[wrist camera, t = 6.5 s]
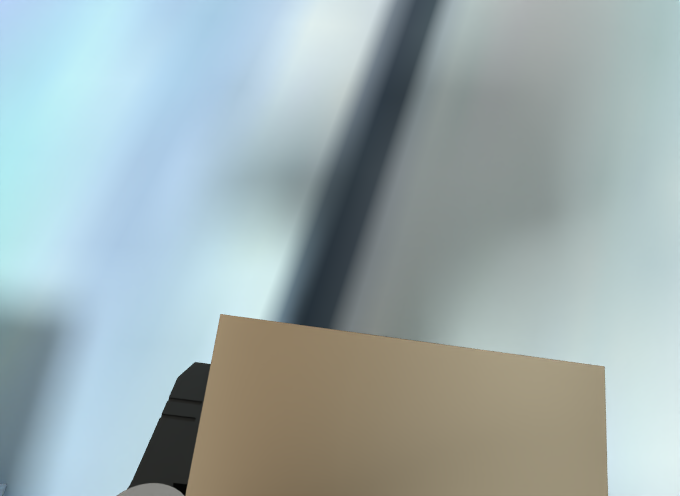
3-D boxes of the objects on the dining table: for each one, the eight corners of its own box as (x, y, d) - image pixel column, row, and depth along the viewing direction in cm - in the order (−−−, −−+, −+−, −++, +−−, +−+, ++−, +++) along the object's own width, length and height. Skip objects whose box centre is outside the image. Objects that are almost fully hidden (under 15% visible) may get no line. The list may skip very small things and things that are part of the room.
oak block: (418, 396, 16) (604, 367, 6) (405, 569, 14) (617, 864, 5) (266, 376, 16) (220, 313, 6) (237, 549, 14) (124, 812, 5)
